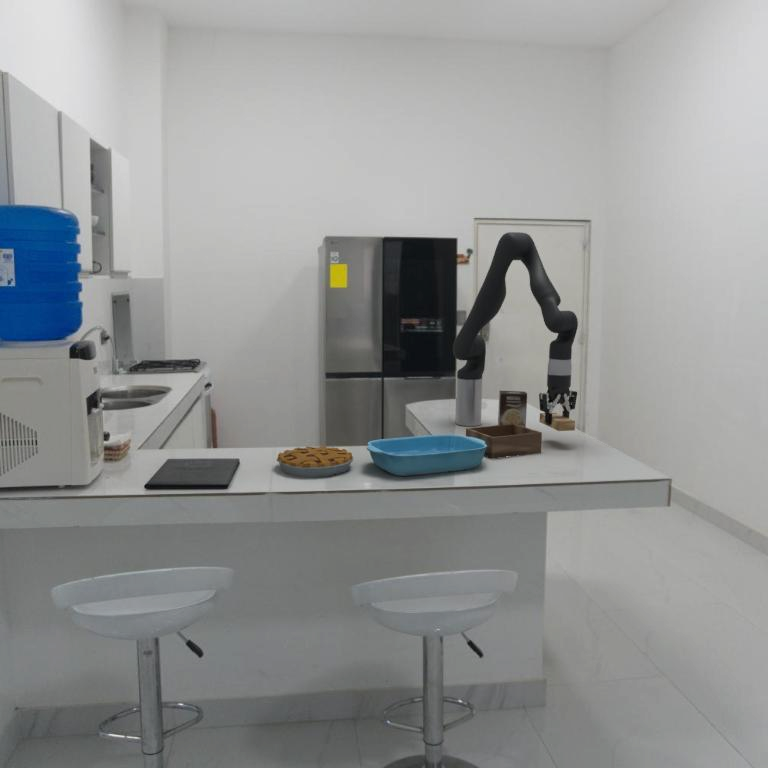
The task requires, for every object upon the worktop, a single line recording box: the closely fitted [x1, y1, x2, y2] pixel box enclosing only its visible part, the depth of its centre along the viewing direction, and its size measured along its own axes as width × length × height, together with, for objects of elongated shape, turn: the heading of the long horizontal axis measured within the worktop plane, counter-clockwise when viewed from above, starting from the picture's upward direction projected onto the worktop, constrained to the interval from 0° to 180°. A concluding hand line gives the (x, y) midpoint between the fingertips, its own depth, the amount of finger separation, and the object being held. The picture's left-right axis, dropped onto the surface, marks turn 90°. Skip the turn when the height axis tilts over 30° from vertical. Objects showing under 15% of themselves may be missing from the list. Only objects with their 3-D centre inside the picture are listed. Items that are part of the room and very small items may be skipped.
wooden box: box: [465, 424, 543, 459], centre depth 235 cm, size 15×18×6 cm
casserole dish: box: [366, 433, 487, 477], centre depth 216 cm, size 37×22×7 cm, turn 115°
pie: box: [276, 445, 354, 478], centre depth 213 cm, size 22×22×5 cm
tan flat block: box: [538, 412, 576, 432], centre depth 242 cm, size 14×6×3 cm, turn 14°
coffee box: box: [497, 390, 528, 428], centre depth 251 cm, size 9×6×16 cm
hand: (556, 423), depth 242 cm, fingers closed on tan flat block, 6 cm apart
